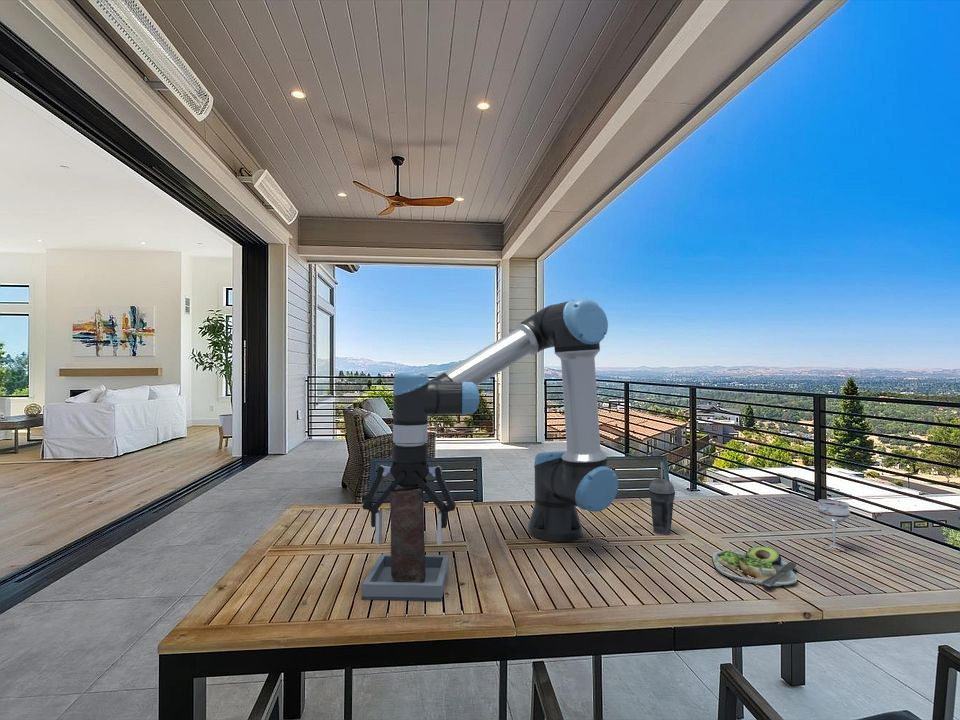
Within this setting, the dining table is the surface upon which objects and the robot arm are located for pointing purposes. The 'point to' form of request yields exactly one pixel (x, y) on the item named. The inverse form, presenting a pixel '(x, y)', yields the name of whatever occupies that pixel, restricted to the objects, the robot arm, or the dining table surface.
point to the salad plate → (757, 566)
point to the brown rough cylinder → (407, 535)
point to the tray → (387, 588)
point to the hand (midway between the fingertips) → (409, 542)
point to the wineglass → (834, 513)
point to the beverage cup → (662, 504)
